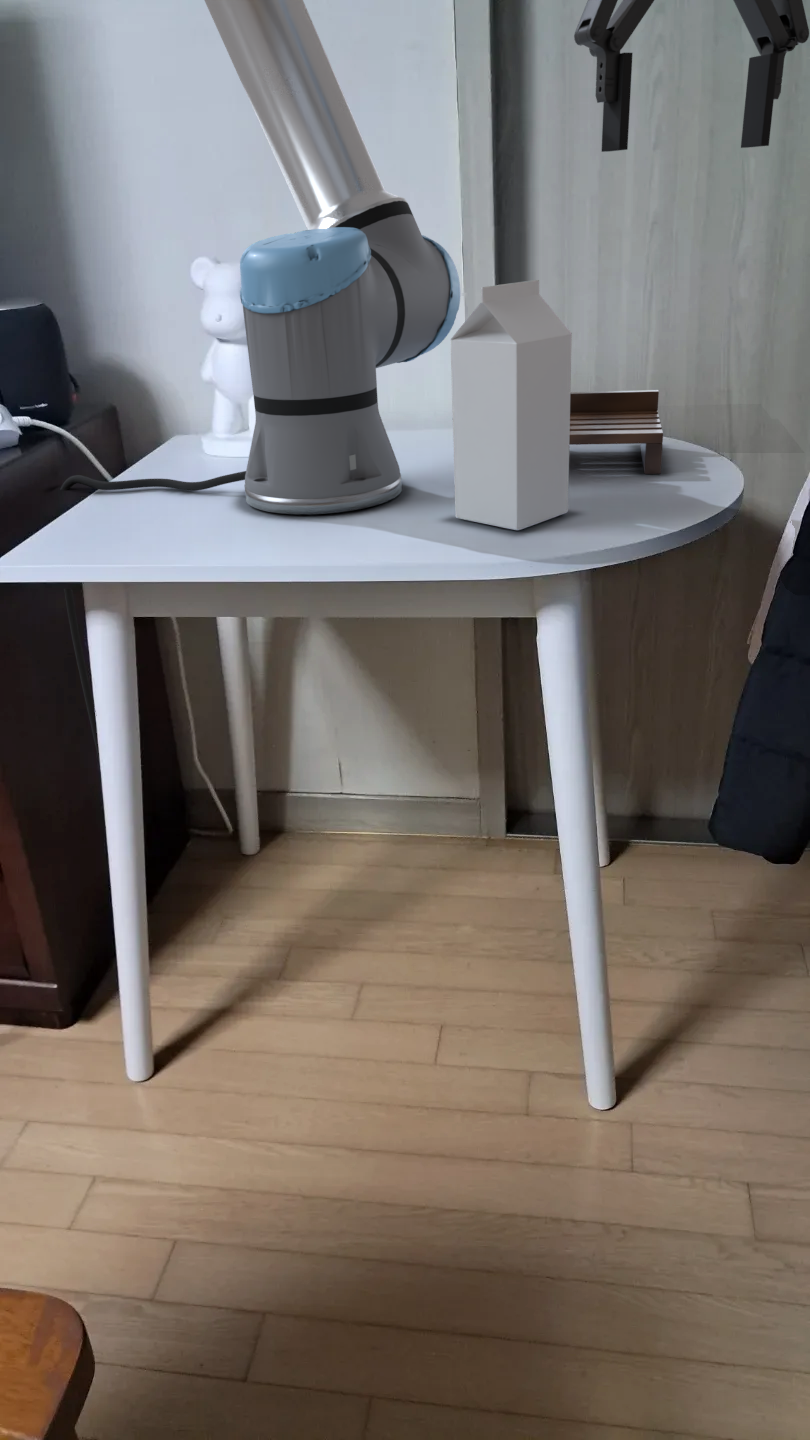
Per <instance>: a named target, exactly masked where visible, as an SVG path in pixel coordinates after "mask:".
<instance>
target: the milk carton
mask: <svg viewBox="0 0 810 1440" xmlns="http://www.w3.org/2000/svg"><path fill="white" fill-rule="evenodd" d="M572 335H573V333H572V332H571V330H570V329H569V328H568V326H567V325H566V324H565V323H564V322H563V320H561V317H559V316H558V315H557V313H556V312H555V311H554V310H553V309H552V308H551V306H550V305H549V304H548V303H547V301H546V300H545V299H544V297H542V296H541V294H540V279H534V280H526V281H518V282H510V283H503V284H498V285H497V284H493V285H487V286H481V287H480V303H479V304H478V305H477V306H476V308H475V309H474V310H473V311H472V312H471V314H469V316H468V317H467V318H466V320H464V322H463V323H462V325H461V326H460V327H459V328H458V329H457V331H456V332H455V333H454V335H452V337H451V338H450V370H451V371H450V372H451V375H450V376H451V377H450V378H451V402H452V403H451V408H452V409H451V411H452V442H453V443H452V444H453V445H452V447H453V477H454V478H453V480H454V482H453V483H454V510H455V511H454V513H455V518H456V519H460V520H465V521H469V522H475V523H479V524H484V525H490V526H494V527H499V528H503V529H508V530H514V531H520V530H523V529H526V528H529V527H532V526H534V525H538V524H540V523H543V522H545V521H548V520H551V519H554V518H557V517H559V516H561V515H565V514H566V513H568V512H569V481H570V480H569V479H570V445H569V438H570V392H571V384H572V382H571V381H572V341H573V340H572V337H573V336H572Z"/></svg>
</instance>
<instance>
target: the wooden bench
mask: <svg viewBox="0 0 810 1440" xmlns="http://www.w3.org/2000/svg"><path fill="white" fill-rule="evenodd" d="M659 394H660V390H659V389H644V390H643V389H641V390H639V389H637V390H604V391H601V390H600V391H570V438H569V446H571V445H573V446H574V445H575V446H576V445H581V446H582V445H634V444H635V445H637V444H639V445H640V452H641V460H642V467H643V474H644V475H661V473H662V463H663V461H662V459H663V442H664V432H663V428H662V424H661V419H660V415H659V411H658V410H659V397H660V396H659Z"/></svg>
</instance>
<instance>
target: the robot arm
mask: <svg viewBox="0 0 810 1440" xmlns="http://www.w3.org/2000/svg"><path fill="white" fill-rule="evenodd" d="M654 1H655V0H621V2H620V4H619V5H618V7H617V3H618V0H586V3H585V6H584V9H583V12H582V14H581V16H580V18H579V21H578V24H577V27H576V29H575V31H574V35H573V39H574V40H573V41H574V43H575V44H576V45H577V46H580V47H581V46H583V47H586V48H588V50H589V54H590V55H591V56H592V57H593V58H596V73H595V100H596V103H597V104H603V107H602V108H603V109H602V128H601V129H602V131H601V152H602V153H606V152H618V151H625V150H626V151H627V150H628V147H629V130H630V129H629V128H630V124H629V123H630V109H631V108H630V107H631V91H632V88H631V87H632V71H633V53H634V52H621V51H622V49H623V48H624V46H625V45H626V43H627V42H628V41H629V39H630V37H631V36H632V34H633V33H634V31H636V29H637V27H638V26H639V24H640V23H641V21H642V20H643V18H644V17H645V15H646V13H647V12H648V11H649V9H650V7H651V6H652V5H653V3H654ZM204 3H205V5H206V7H207V9H208V12H209V14H210V16H211V18H212V21H213V22H214V25H215V28H216V29H217V32H218V34H219V36H220V38H221V41H222V43H223V45H224V47H225V49H226V52H227V53H228V54H227V55H228V57H229V58H230V60H231V62H232V65H233V67H234V69H235V71H236V73H237V74H236V75H237V76H238V78H239V81H240V83H241V85H242V87H243V89H244V91H245V93H246V97H247V98H248V101H249V103H250V105H251V107H252V110H253V111H254V113H255V116H256V118H257V121H258V123H259V125H260V127H261V129H262V131H263V134H264V135H265V136H264V137H265V138H266V140H267V142H268V144H269V147H270V150H271V152H272V154H273V156H274V158H275V160H276V162H277V165H278V167H279V169H280V171H281V174H282V176H283V178H284V180H285V182H286V185H287V187H288V189H289V192H290V193H291V196H292V198H293V200H294V203H295V205H296V207H297V209H298V211H299V214H300V216H301V218H302V220H303V222H304V225H305V227H306V230H301V231H300V230H299V231H296V232H294V233H283V234H278V235H273V236H270V237H267V238H264V239H261V240H258V241H256V242H254V243H251V244H250V245H249V246H248V247H247V248H245V249H244V250H243V252H242V254H241V257H240V261H239V272H240V273H239V274H240V290H239V298H240V303H241V305H242V311H243V321H244V328H245V335H246V336H245V337H246V344H247V345H246V347H247V353H248V361H249V362H248V363H249V369H250V370H249V371H250V379H251V386H252V387H251V388H252V395H253V404H254V413H255V423H254V428H253V433H252V437H251V438H252V439H251V444H250V450H249V454H248V460H247V463H246V470H243V471H239V472H235V473H229V474H225V475H220V476H217V477H214V478H210V479H206V480H202V481H183V480H177V479H172V478H141V479H140V478H139V479H130V480H129V479H128V480H116V481H103V480H97V479H94V478H90V477H88V476H86V475H81V474H75V475H71V476H69V477H67V479H66V480H65V481H64V482H63V483H62V485H61V487H60V488H59V489H60V491H67V490H70V489H71V488H72V487H73V486H74V485H77V484H79V485H83V486H87V487H88V488H93V489H96V490H101V491H117V490H130V489H140V488H141V489H142V488H168V489H169V488H170V489H176V490H181V491H187V492H188V491H189V492H191V491H203V490H208V489H212V488H215V487H218V486H223V485H226V484H232V483H236V482H241V481H244V492H245V493H244V494H245V501H246V503H247V505H249V506H251V507H252V508H254V509H257V510H259V511H262V512H267V513H275V514H285V515H323V514H336V513H345V512H351V511H356V510H361V509H366V508H370V507H371V508H372V507H374V506H378V505H381V504H384V503H387V502H390V501H391V500H393V499H395V498H396V497H397V496H399V495H400V494H401V493H402V489H403V488H402V487H403V485H402V473H401V469H400V465H399V462H398V460H397V457H396V454H395V452H394V448H393V447H392V442H391V441H390V439H389V436H388V433H387V430H386V428H385V425H384V423H383V419H382V417H381V414H380V410H379V401H378V381H377V369H379V368H383V367H385V366H389V365H392V364H393V365H394V364H400V363H401V364H402V363H408V362H411V361H414V360H416V359H417V358H418V357H420V356H423V355H424V354H427V353H428V352H430V351H432V350H433V349H435V348H436V347H438V346H440V344H441V343H443V341H444V340H445V339H446V337H447V336H448V335H449V333H450V332H451V330H452V329H453V327H454V324H455V321H456V319H457V315H458V311H459V309H460V303H461V282H460V278H459V272H458V269H457V266H456V264H455V262H454V260H453V258H452V257H451V256H450V254H449V253H448V251H447V250H446V249H445V248H444V247H443V246H442V245H441V244H440V243H438V242H437V241H435V240H433V239H431V238H430V237H428V236H426V235H423V234H422V232H421V230H420V228H419V226H418V223H417V221H416V219H415V217H414V213H413V212H412V210H411V207H410V204H409V203H408V201H407V200H406V198H404V197H401V196H399V195H396V194H394V193H391V192H389V191H387V190H386V187H384V183H383V182H382V179H381V177H380V175H379V172H378V170H377V168H376V165H375V163H374V160H373V158H372V155H371V154H370V152H369V148H368V147H367V145H366V142H365V140H364V138H363V135H362V133H361V131H360V129H359V126H358V123H357V121H356V119H355V117H354V115H353V112H352V109H351V108H350V105H349V103H348V101H347V99H346V96H345V95H344V92H343V90H342V87H341V84H340V83H339V80H338V77H337V76H336V73H335V71H334V69H333V67H332V64H331V62H330V59H329V57H328V54H327V52H326V50H325V48H324V46H323V43H322V40H321V38H320V36H319V34H318V32H317V30H316V27H315V24H314V23H313V20H312V18H311V15H310V13H309V11H308V8H307V7H306V4H305V2H304V0H204ZM733 3H734V4H735V7H736V9H737V11H738V13H739V15H740V17H741V19H742V21H743V23H744V25H745V27H746V29H747V31H748V33H749V35H750V38H751V39H752V41H753V43H754V45H755V48H756V50H757V52H758V53H759V55H756V56H751V57H749V59H748V67H747V77H746V79H747V80H746V88H745V89H746V90H745V101H744V109H743V110H744V111H743V122H742V131H741V142H740V149H746V148H747V149H748V148H749V149H750V148H759V147H769V146H770V137H771V128H772V118H773V111H774V110H773V108H774V101H775V100H777V101H778V100H779V97H780V95H781V93H782V82H783V74H784V64H785V58H786V54H787V53H788V52H793V51H794V49H795V48H796V47H797V46H798V45H801V44H805V43H806V42H807V41H808V39H809V37H810V29H809V28H810V27H809V25H808V20H807V16H806V11H805V6H804V1H803V0H733ZM616 7H617V8H616ZM615 8H616V9H615ZM614 10H615V11H614ZM63 591H64V597H65V603H66V604H65V605H66V611H67V618H68V623H69V629H70V634H71V639H72V644H73V650H74V654H75V660H76V665H77V669H78V673H79V678H80V682H81V687H82V692H83V697H84V701H85V705H86V710H87V714H88V719H89V723H90V728H91V733H92V736H93V741H94V745H95V750H96V754H97V758H98V760H99V753H98V744H97V733H96V723H95V713H94V707H95V703H94V699H93V694H92V689H91V686H90V681H89V676H88V671H87V666H86V661H85V656H84V651H83V646H82V641H81V636H80V631H79V624H78V618H77V613H76V607H75V600H74V593H73V588H63ZM93 703H94V704H93Z"/></svg>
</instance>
